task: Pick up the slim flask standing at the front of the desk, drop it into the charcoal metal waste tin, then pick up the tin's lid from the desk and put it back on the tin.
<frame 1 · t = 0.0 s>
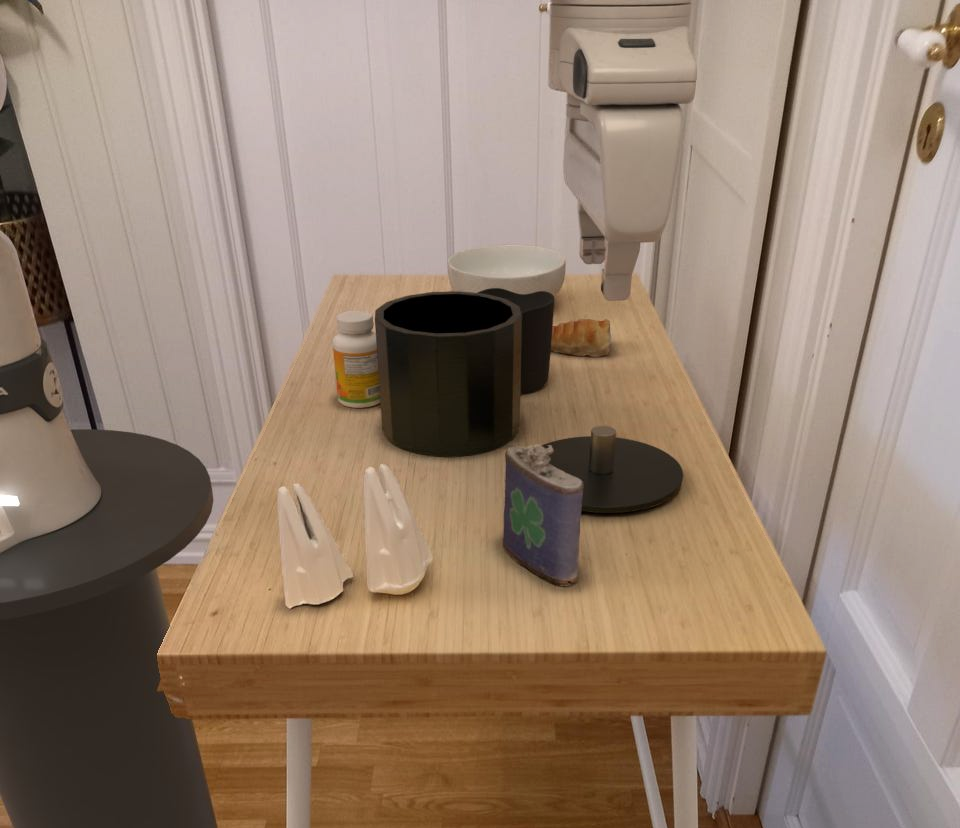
hand: (602, 279, 70), 23 cm above the table, tool pointing down, fingers open, 8 cm apart
supplement bottle: (361, 401, 112), on the table
flask: (537, 564, 82), on the table
pastry: (580, 350, 126), on the table
lid: (600, 474, 94), point 1 cm above the table
tin: (451, 428, 105), on the table
cereal bowl: (506, 310, 140), on the table
shaker set: (361, 593, 79), on the table
pen holder: (512, 384, 116), on the table
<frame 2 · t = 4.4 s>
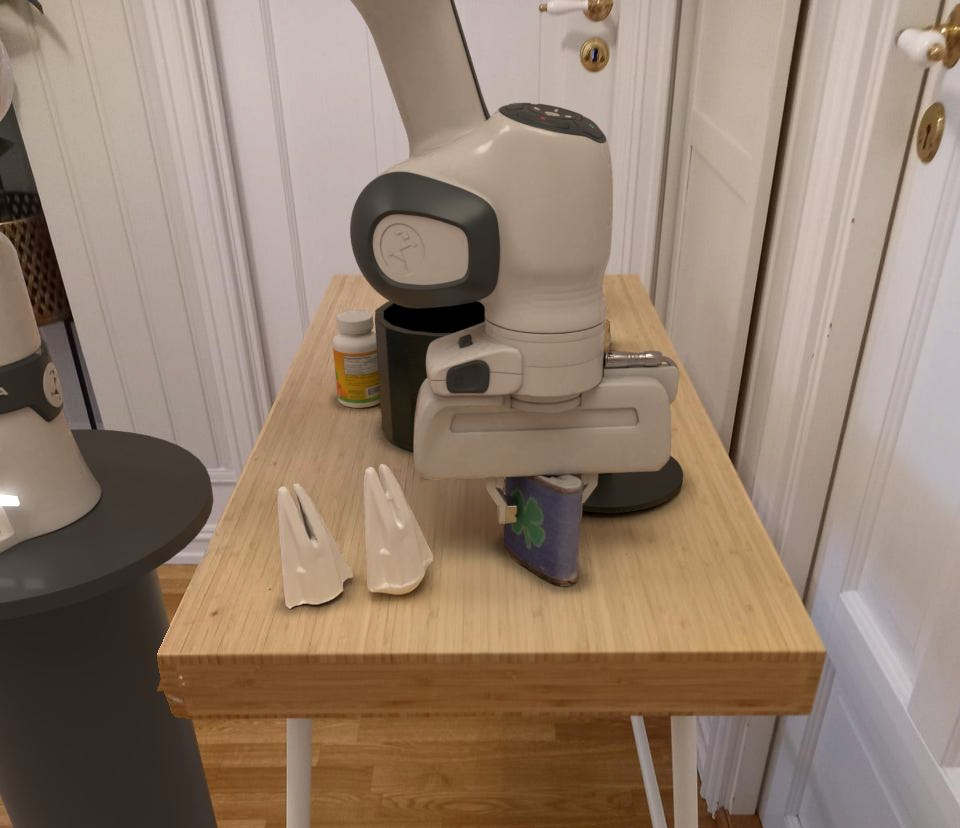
hand: (538, 519, 80), 4 cm above the table, tool pointing down, fingers closed on flask, 4 cm apart
flask: (537, 564, 82), on the table, touching gripper
everything else where it was.
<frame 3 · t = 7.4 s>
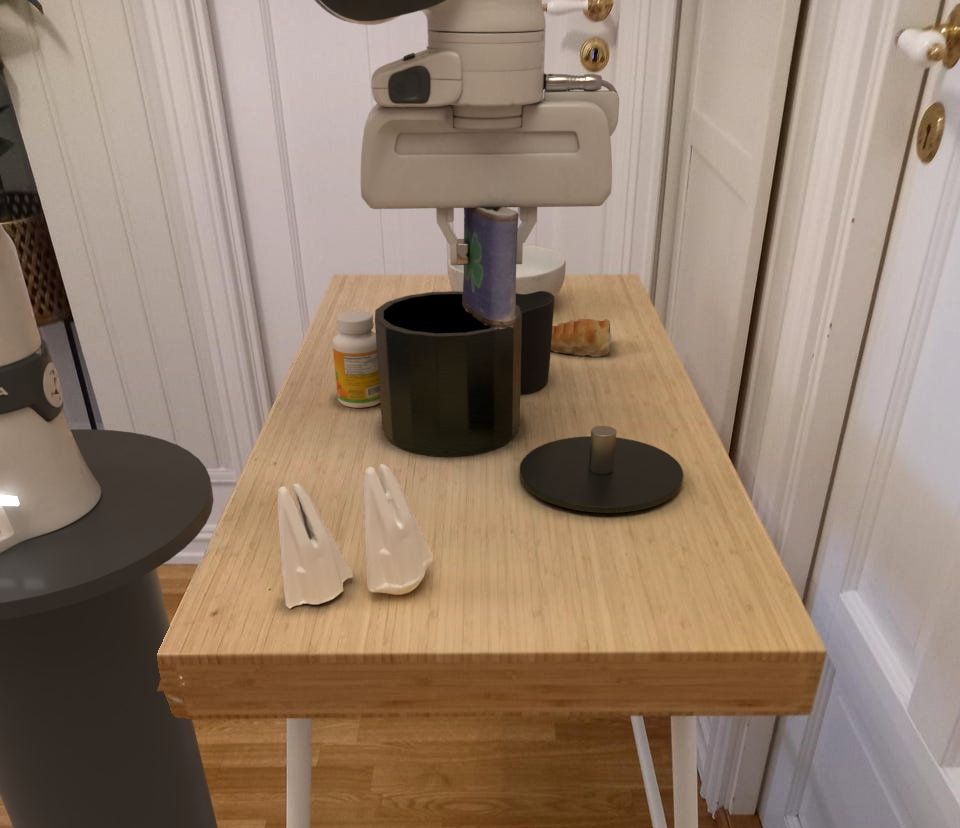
hand: (485, 263, 82), 21 cm above the table, tool pointing down, fingers closed on flask, 3 cm apart
flask: (486, 316, 84), point 17 cm above the table, touching gripper
everything else where it was.
when the fingers open (14 cm above the table, at t = 10.6 s): flask drops 9 cm, resting on tin.
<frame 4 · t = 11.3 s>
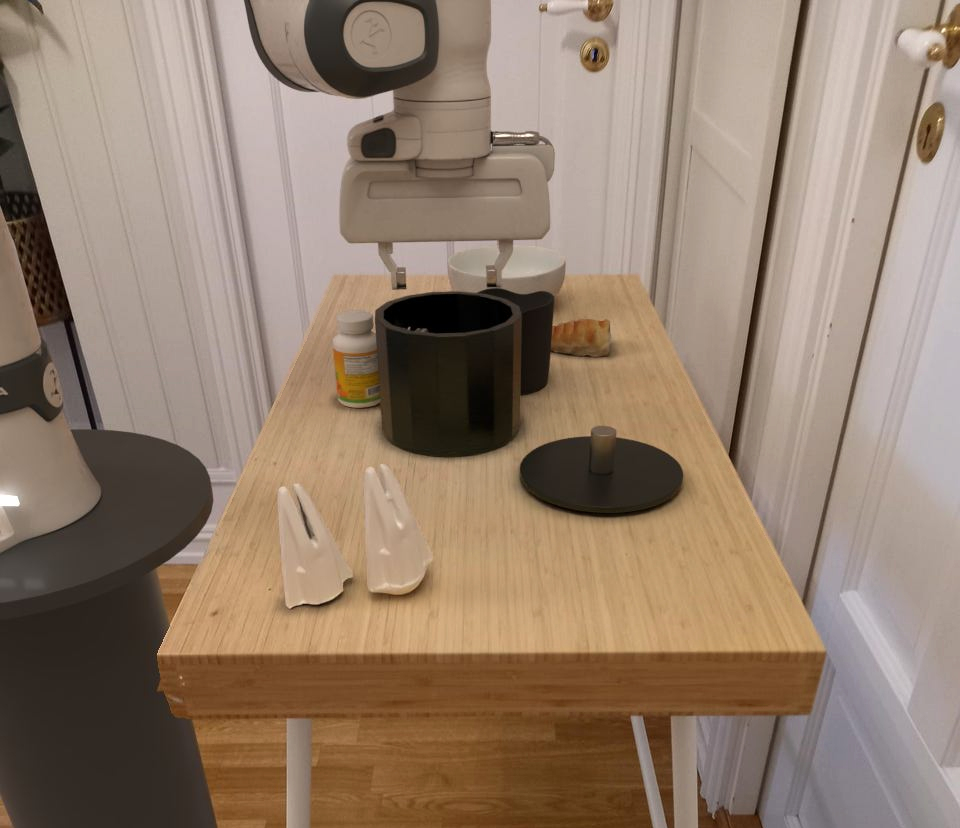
hand: (446, 287, 97), 15 cm above the table, tool pointing down, fingers open, 8 cm apart
flask: (448, 421, 104), point 1 cm above the table, touching tin
everything else where it was.
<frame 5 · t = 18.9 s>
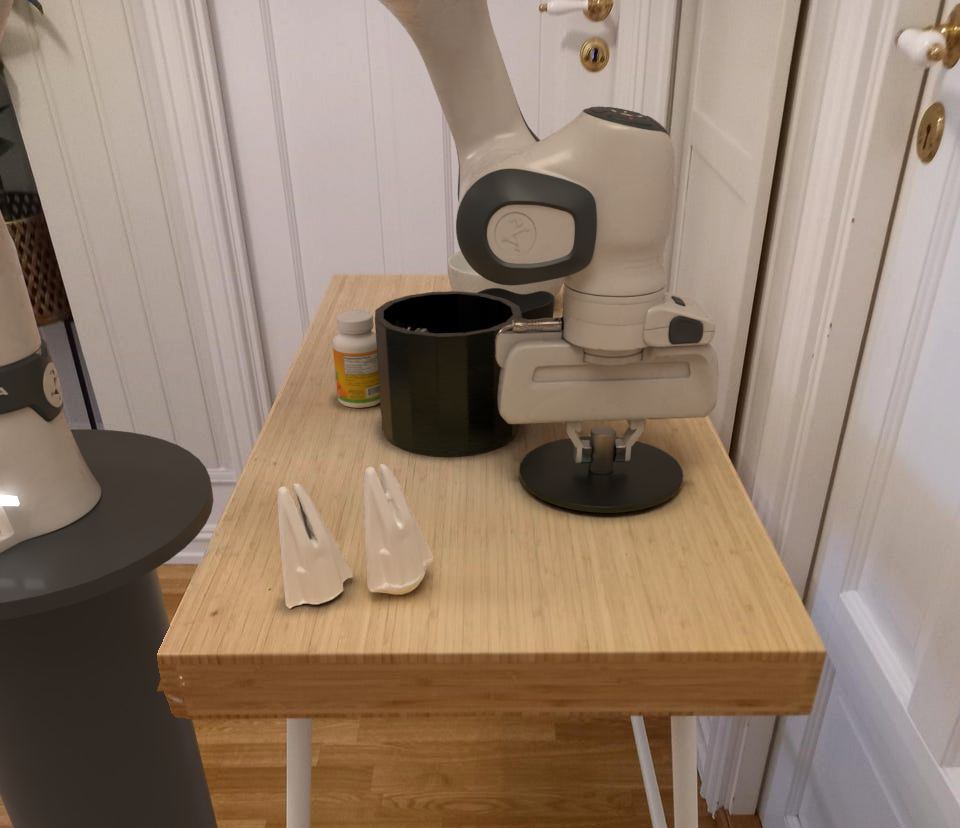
hand: (601, 460, 93), 2 cm above the table, tool pointing down, fingers closed on lid, 2 cm apart
lid: (600, 474, 94), point 1 cm above the table, touching gripper
everything else where it was.
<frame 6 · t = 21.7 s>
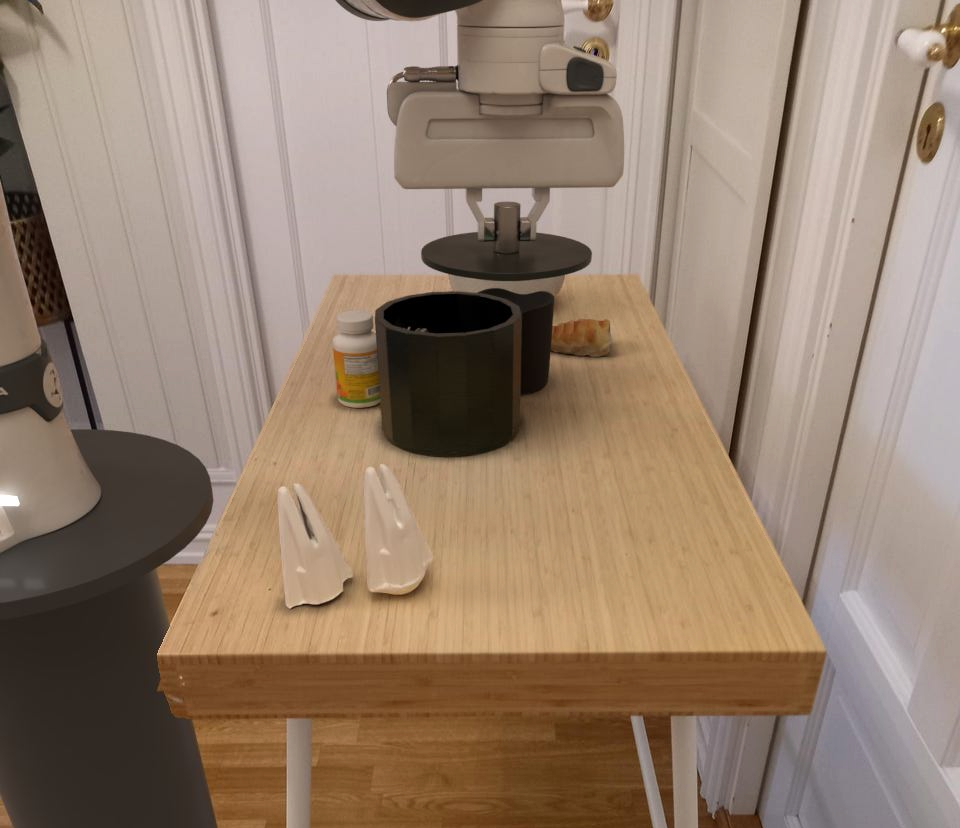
hand: (506, 240, 89), 21 cm above the table, tool pointing down, fingers closed on lid, 2 cm apart
lid: (506, 257, 90), point 19 cm above the table, touching gripper
everything else where it was.
when the fingers open (14 cm above the table, at t = 24.4 s): lid stays where it is, resting on tin.
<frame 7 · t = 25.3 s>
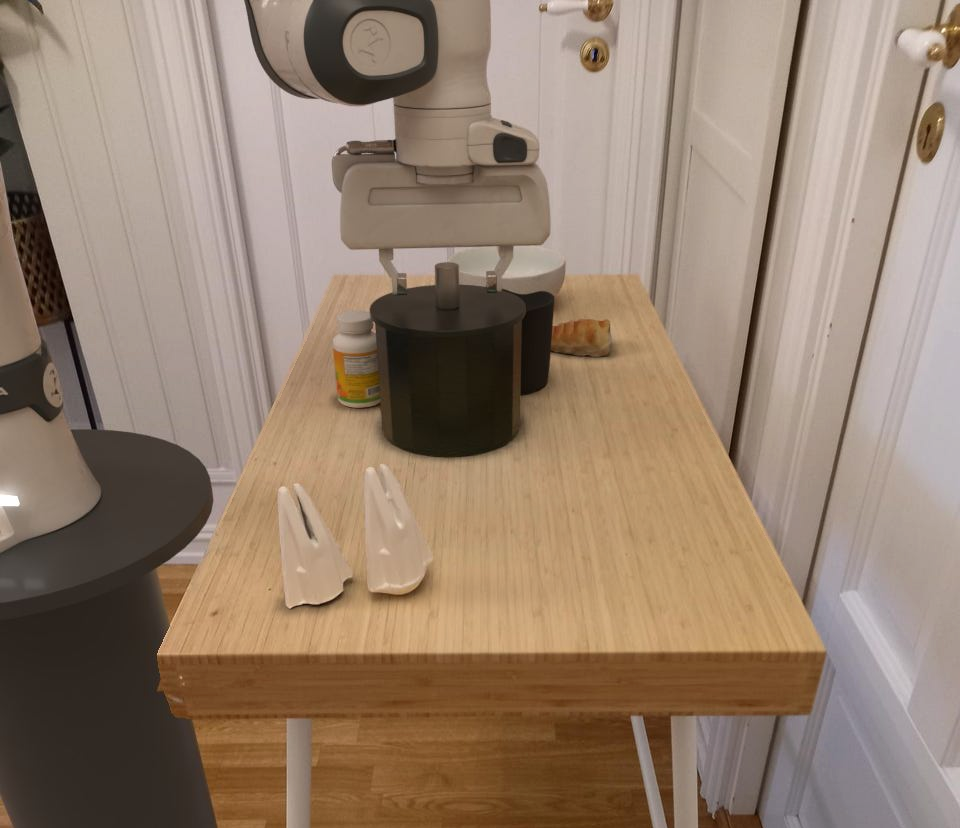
hand: (447, 292, 97), 14 cm above the table, tool pointing down, fingers open, 8 cm apart
lid: (448, 312, 98), point 12 cm above the table, touching tin
everything else where it was.
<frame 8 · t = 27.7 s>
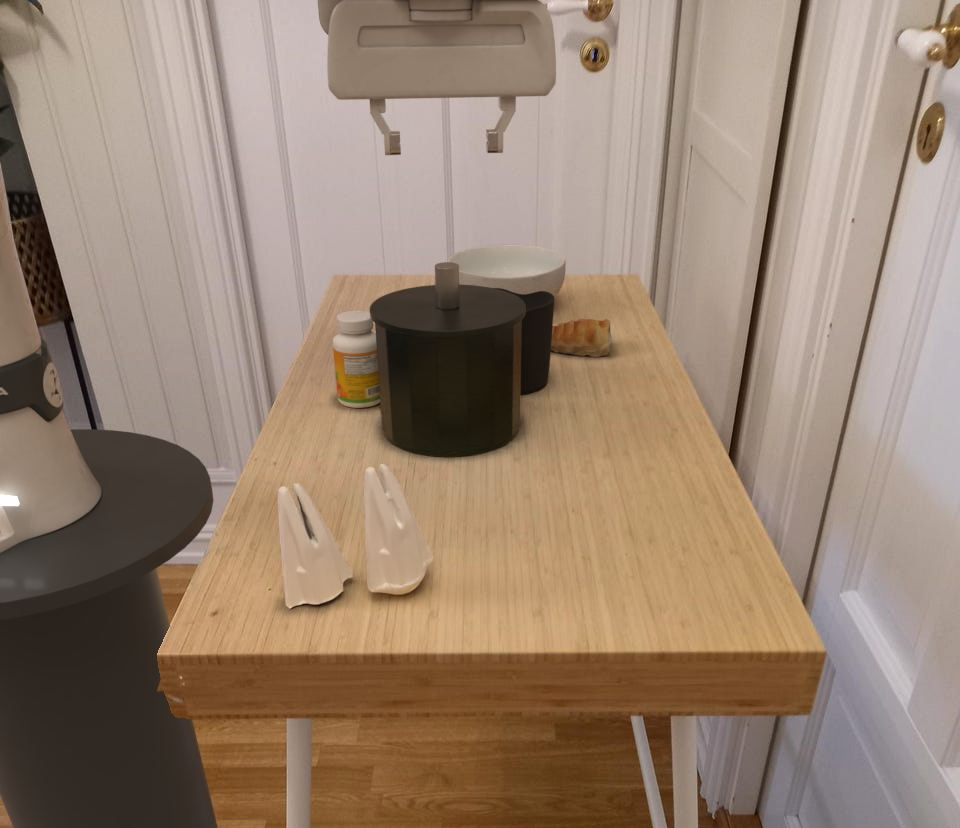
hand: (443, 153, 90), 27 cm above the table, tool pointing down, fingers open, 8 cm apart
nothing on the table moved.
at the end: flask inside the target area in the tin (0.4 cm from its centre), point 1.0 cm above the tin's base; lid 0.0 cm off-centre on the tin, point 12.5 cm above the tin's base; lid tilted 0° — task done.
